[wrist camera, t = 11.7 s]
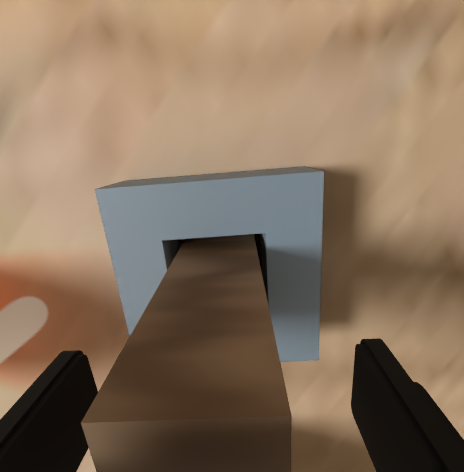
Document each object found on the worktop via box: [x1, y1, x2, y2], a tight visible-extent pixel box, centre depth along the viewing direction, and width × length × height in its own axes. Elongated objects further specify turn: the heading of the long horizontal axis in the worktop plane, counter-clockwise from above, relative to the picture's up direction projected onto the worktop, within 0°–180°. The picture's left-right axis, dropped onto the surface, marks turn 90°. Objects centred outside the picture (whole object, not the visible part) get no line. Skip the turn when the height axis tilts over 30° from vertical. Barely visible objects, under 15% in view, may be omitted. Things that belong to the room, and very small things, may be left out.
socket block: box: [95, 166, 324, 362], centre depth 18 cm, size 12×12×4 cm
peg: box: [81, 234, 291, 472], centre depth 13 cm, size 4×4×14 cm
